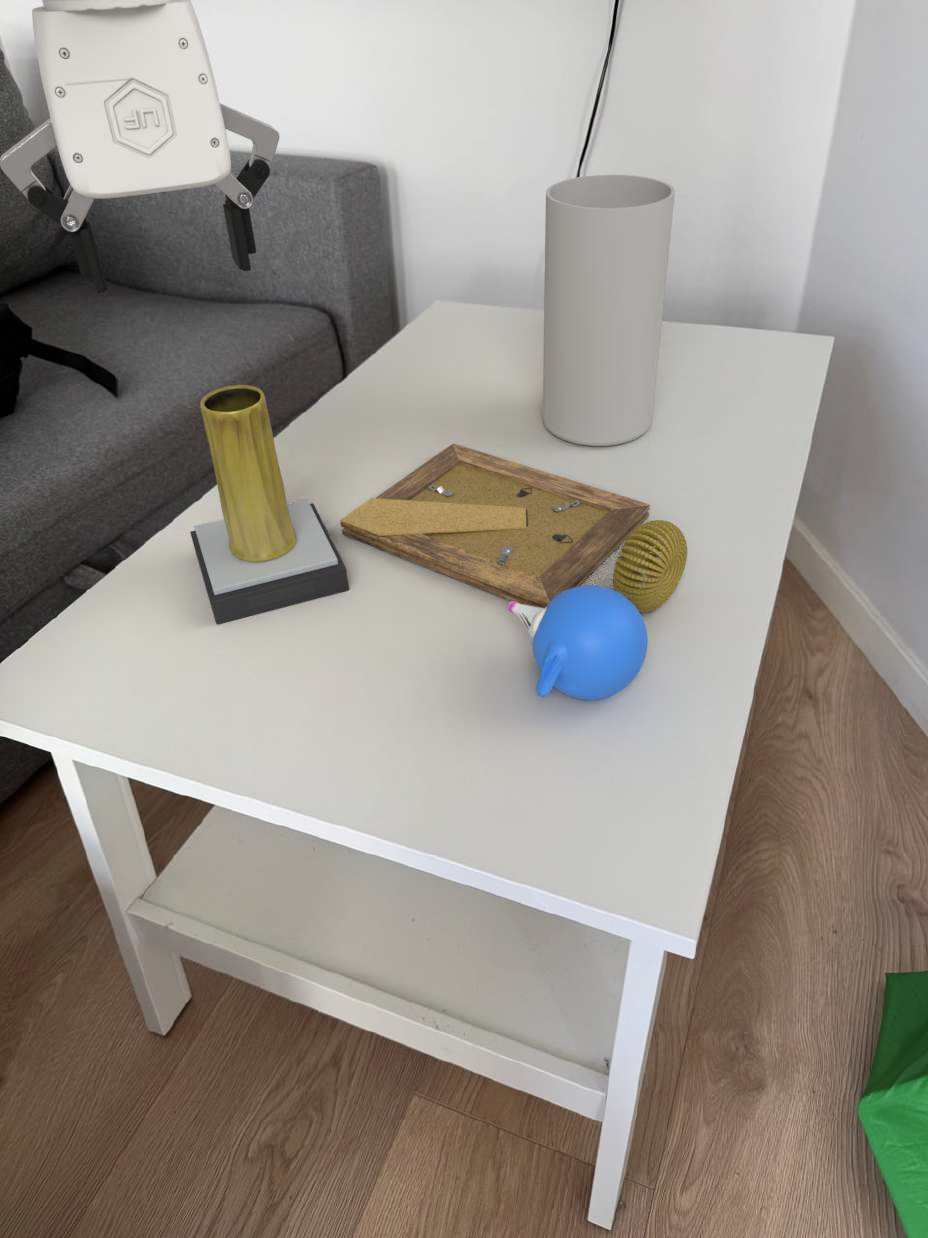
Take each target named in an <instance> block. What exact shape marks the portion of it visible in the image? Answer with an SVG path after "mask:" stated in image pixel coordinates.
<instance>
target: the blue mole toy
mask: <svg viewBox="0 0 928 1238" xmlns="http://www.w3.org/2000/svg"><path fill="white" fill-rule="evenodd" d="M507 608H508V609H507V610H508V611H509V612H510V613H513V614H514V615H516V617H518V619H519V621H521V623H522V626H524V628H525V629H526V631H527V632H528V634H529V636H530V638H531V641H532V654H533V658H534V661H535V663H536V666H537V668H538V669H539V671H540V674H539V677H538V680H537V683H536V686H535V694H536V695H537V696H538V697H540V698H544V697H546V696H548V695H549V694H550V693H551V692H552V689H553V688H555V689H556V690H558V691H559V692H561V693H562V694H564V695H566V696H569V697H571V698H573V699H579V700H584V701H585V700H586V701H595V700H597V701H598V700H603V699H607V698H609V697H613V696H615V695H616V694H619V693H620V692H621V691H623V690H625V689H626V688H627V687H628V686H629V685H630V684H632V682H633V681H634V680H635V679H636V677H638V675H639V673H640V671H641V669H642V667H643V664H644V662H645V659H646V656H647V652H648V644H649V641H648V640H649V639H648V630H647V626H646V623H645V620H644V618H643V616H642V614H641V613H640V612H639V611H638V609H637V608H636V607H635V606H634V604H633V603H632V602H631V601H630V600H628V599H627V598H626V597H625V596H624V595H622V594H621V593H620V592H617V591H614V589H612V588H609V587H607V586H602V585H594V584H593V585H592V584H589V585H588V584H586V585H585V584H584V585H580V586H578V587H574V588H571V589H567V590H565V591H563V592H562V593H560V594H558V595H557V596H556V597H554V598H553V599H552V600H551V602H550V603H549V604H548V605H547V606H546V607H545V608H540V607H534V606H529V605H524V604H519V603H518V602H516V601H510V602H509V603H508V605H507Z"/></svg>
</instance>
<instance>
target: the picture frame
mask: <svg viewBox="0 0 928 1238" xmlns="http://www.w3.org/2000/svg"><path fill="white" fill-rule="evenodd" d="M650 507H651V504H649V503H646V502H644V501H641V500H637V499H633V498H631V497H627V496H624V495H621V494H617V493H614V492H611V491H607V490H604V489H601V488H599V487H595V486H592V485H588V484H585V483H582V482H579V481H575V480H573V479H569V478H566V477H562V476H560V475H556V474H553V473H550V472H547V471H543V470H540V469H537V468H534V467H531V466H528V465H524V464H521V463H518V462H515V461H511V460H508V459H505V458H501V457H498V456H496V455H493V454H489V453H486V452H483V451H479V450H476V449H472V448H470V447H467V446H463V445H460V444H457V443H451V445H449V446H447V447H446V448H445V449H443V450H442V451H439V452H438V453H437V454H436V455H434V456H432V458H430V459H428V460H427V461H426V462H425V463H423V464H421V465H420V466H419V467H418V468H416V469H414V470H413V471H412V472H410V473H408V474H407V475H406V476H405V477H404V476H403V478H402V479H400V480H399V481H397V482H396V483H395V484H393V485H391V486H390V487H389V488H387V489H386V490H384V491H383V492H382V493H379V495H377V496H376V497H371V498H369V499H368V500H366V501H365V502H364V503H362V504H361V505H359V506H358V507H357V508H355V509H353V510H352V511H350V512H349V513H348V514H347V515H345V516H344V517H342V518H341V519H340V527H341V534H342V535H345V536H347V537H349V538H352V539H355V540H357V541H359V542H362V543H364V544H366V545H369V546H372V547H374V548H377V549H379V550H382V551H385V552H387V553H389V554H392V555H395V556H397V557H400V558H402V559H405V560H407V561H410V562H412V563H415V564H417V565H420V566H421V567H425V568H427V569H430V570H432V571H435V572H437V573H439V574H442V575H445V576H446V577H447V576H448V577H450V578H453V579H455V580H457V581H460V582H463V583H465V584H468V585H470V586H473V587H475V588H477V589H480V590H482V591H485V592H488V593H490V594H493V595H495V596H498V597H500V598H502V599H505V600H508V601H510V602H512V601H516V602H518V603H519V604H524V605H529V606H534V607H540V608H545V607H546V606H547V605H548V604H549V603H550V602H551V600H552V599H553V598H554V597H556V596H557V595H558V594H560V593H562V592H563V591H565V590H567V589H571V588H574V587H578V586H582V584H583V583H584V582H585V581H586V580H588V578H589V577H590V576H591V575H592V574H593V573H594V572H595V571H596V570H597V569H598V568H599V567H600V566H601V565H602V564H603V563H604V562H605V561H606V560H607V559H608V558H609V557H610V556H611V555H612V554H613V553H614V552H615V551H616V550H617V549H618V548H619V547H620V546H621V545H622V544H624V543H625V541H626V540H627V538H629V536H630V535H631V533H632V532H634V531H635V530H636V529H637V528H638V527H639V526H641V525H643V524H644V523H645V520H647V519H648V518H649V517H650V512H649V510H650Z"/></svg>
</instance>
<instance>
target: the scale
mask: <svg viewBox="0 0 928 1238" xmlns="http://www.w3.org/2000/svg"><path fill="white" fill-rule="evenodd" d="M287 506H288V510H289V514H290V518H291V522H292V525H293V527H294V530H295V532H296V537H297V539H296V543H295V545H294V546H293V548H292V549H291V550H290V551H289V552H287V553H286V554H284V555H282V556H280V557H278V558H276V559H273V560H269V561H263V562H249V561H244V560H241V559H238V558H236V557H235V556H234V555H233V554H232V553H231V551H230V549H229V537H228V533H227V529H226V525H225V521H224V518H222V519H218V520H214V521H210V522H206V523H202V524H197V525H194V526H193V528H194V530H192V531H190V532H189V534H190V537H191V540H192V544H193V548H194V552H195V554H196V558H197V562H198V566H199V569H200V572H201V576H202V579H203V583H204V586H205V587H204V588H205V591H206V593H207V597H208V601H209V604H210V607H211V611H212V614H213V617H214V622H215V625H221V624H224V623H229V622H233V621H236V620H241V619H244V618H248V617H251V616H256V615H259V614H263V613H267V612H271V611H274V610H278V609H282V608H286V607H290V606H293V605H298V604H301V603H306V602H309V601H312V600H317V599H321V598H324V597H329V596H331V595H336V594H340V593H344V592H348V591H350V584H349V578H348V572H347V567H346V565H345V562H344V561H343V559H342V556H341V555H340V553H339V551H338V549H337V547H336V545H335V543H334V541H333V540H332V537H331V535H330V533H329V532H328V529H327V528H326V526H325V523H324V521H323V520H322V517H321V515H320V513H319V511H318V510H317V508H316V506H315V504H314V503H313V502H311V503H310V501H309V499H305V500H301V501H297V502H291V503H287Z"/></svg>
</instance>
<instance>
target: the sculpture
mask: <svg viewBox="0 0 928 1238" xmlns="http://www.w3.org/2000/svg"><path fill="white" fill-rule="evenodd" d="M687 559H688V544H687V540H686V537H685V535H684V533H683V532H682V530H681V529H680V528H679V526H677V525H675V524H674V523H673V522H670V521H667V520H664V519H653V520H650V521H646V522H643V523H642V524H641V525H640V526H639V527H638V528H637V529H636V530H635V531H634V532H632V533H631V535H630V536H629V537H628V538H627V539H626V540H625V541H624V542H623V545H622V546H621V549H620V551H619V553H618V556H617V557H616V561H615V564H614V568H613V574H612V584H613V590H614V591H617V592H620V593H621V594H622V595H624V596H625V597H626V598H627V599H628V600H630V601H631V602H632V603H633V604H634V606H635V607H636V608H637V609H638V611H639V612H640V614H641V613H648V612H649V613H650V612H653V611H655V610H657V609H659V608H660V607H662V606H663V605H664V604H665V603H666V602H667V601H668V600H669V599H670V598H671V597H672V596H673V594H674V592H675V591H676V589H677V587H678V586H679V584H680V583H679V582H681V580H682V577H683V574H684V571H685V569H686V565H687V561H688V560H687Z"/></svg>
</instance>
